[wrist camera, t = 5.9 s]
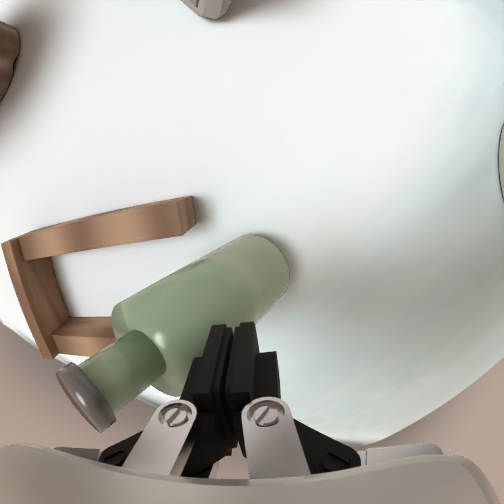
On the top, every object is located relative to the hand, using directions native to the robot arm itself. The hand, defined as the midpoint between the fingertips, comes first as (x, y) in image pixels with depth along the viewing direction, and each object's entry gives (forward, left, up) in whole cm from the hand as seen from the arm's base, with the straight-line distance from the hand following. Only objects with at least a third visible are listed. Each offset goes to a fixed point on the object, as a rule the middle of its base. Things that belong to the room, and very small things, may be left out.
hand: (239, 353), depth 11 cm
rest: (+11, 0, -10) cm, 15 cm away
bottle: (0, 0, -9) cm, 9 cm away
